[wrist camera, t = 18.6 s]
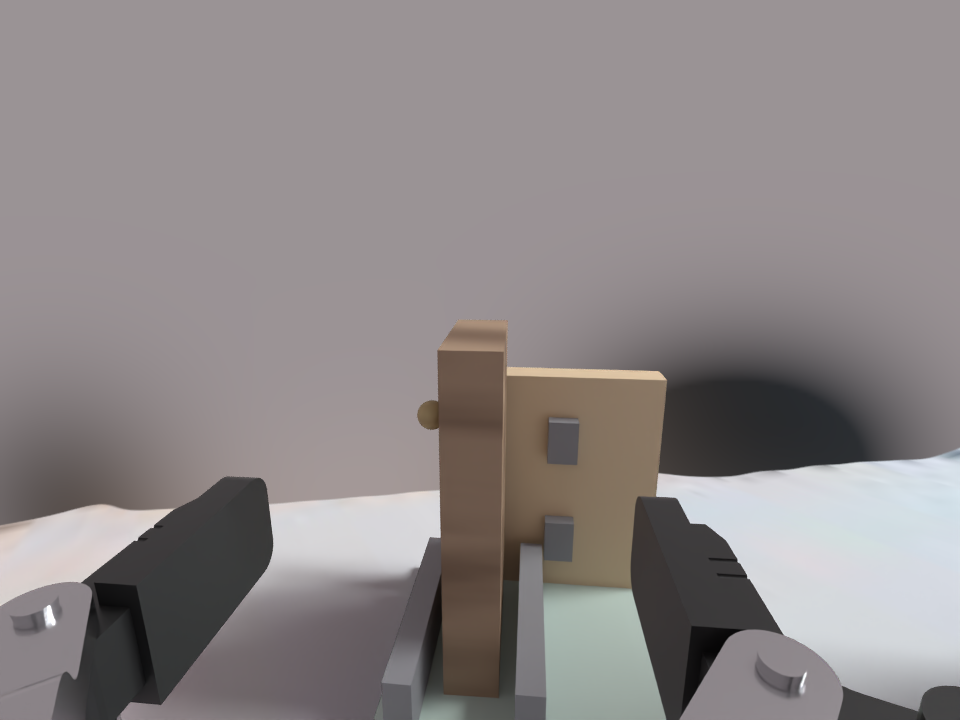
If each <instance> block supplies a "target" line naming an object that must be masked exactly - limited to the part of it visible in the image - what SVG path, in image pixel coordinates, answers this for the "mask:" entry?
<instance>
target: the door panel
mask: <svg viewBox="0 0 960 720" xmlns="http://www.w3.org/2000/svg"><path fill="white" fill-rule="evenodd" d="M507 325H508V321H507V320H458V321H457V323H456V324H455V326H454V327H453V329H452V330H451V331H450V333H449V334H448V336H447V337H446V339H445V340H444V342H443V343H442V345H441V346H440V347H439V349H438V402H437V401H427V402H425V403H423V404H422V405H421V406H420V408H419V410H418V414H417V417H418V421H419V423H420V424H421V425H422V426H423V427H424V428H426V429H430V430H434V429H437V428H439V460H440V461H439V462H440V463H439V464H440V521H441V578H442V636H443V693H444V695H459V696H474V697H489V698H499V679H500V655H501V631H502V608H503V571H504V510H505V449H506V388H507Z"/></svg>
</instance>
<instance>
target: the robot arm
mask: <svg viewBox="0 0 960 720" xmlns="http://www.w3.org/2000/svg"><path fill="white" fill-rule="evenodd" d="M272 551H273V535H272V527H271V519H270V511H269V503H268V495H267V488H266V484H265V482H264V481H263V480H262V479H261V478H249V477H224V478H222V479H221V480H220V481H219V482H217V483H216V484H215V485H213V486H212V487H211V488H210V489H209V490H207V491H206V492H205V493H204V494H203V495H201V496H200V497H199V498H197V499H195V500H193V501H191V502H189V503H187V504H185V505H183V506H181V507H179V508H177V509H175V510H173V511H172V512H170V513H169V514H168V515H166V516H165V517H164V518H163V519H161V520H160V521H159V522H158V523H156V524H155V525H154V528H150V529H149V530H147V531H146V532H145V533H144V534H142V535H141V536H140V537H139V538H138V541H133V542H132V543H131V544H130V545H128V546H127V547H126V548H125V549H123V550H122V551H121V552H120V553H118V554H117V555H116V556H114V557H113V558H112V559H111V560H109V561H108V562H107V563H106V564H104V565H103V566H102V567H100V568H99V569H98V570H97V571H95V572H94V573H93V574H92V575H90V576H89V577H88V578H87V579H85V580H84V581H83V582H81V583H78V582H65V583H57V584H52V585H48V586H44V587H41V588H38V589H35V590H32V591H30V592H27V593H25V594H22V595H20V596H18V597H16V598H14V599H12V600H10V601H9V602H7V603H5V604H4V605H2V606H0V720H122V719H121V712H122V711H123V710H124V709H125V708H126V706H127V705H128V704H129V703H130V702H136V703H147V704H157V705H161V704H162V703H163V702H164V700H165V699H166V698H167V696H168V695H169V694H170V693H171V691H172V690H173V689H174V687H175V686H176V685H177V684H178V682H179V681H180V680H181V679H182V677H183V676H184V675H185V673H186V672H187V671H188V670H189V668H190V667H191V666H192V664H193V663H194V662H195V661H196V659H197V658H198V657H199V655H200V654H201V653H202V652H203V650H204V649H205V648H206V646H207V645H208V644H209V643H210V641H211V640H212V639H213V637H214V636H215V635H216V634H217V632H218V631H219V630H220V628H221V627H222V626H223V625H224V623H225V622H226V621H227V619H228V618H229V617H230V616H231V614H232V613H233V612H234V610H235V609H236V608H237V607H238V605H239V604H240V603H241V601H242V600H243V599H244V598H245V596H246V595H247V594H248V592H249V591H250V590H251V589H252V587H253V586H254V585H255V583H256V582H257V581H258V580H259V578H260V577H261V576H262V574H263V573H264V572H265V570H266V569H267V567H268V565H269V562H270V559H271V556H272ZM630 572H631V586H632V593H633V597H634V601H635V605H636V608H637V612H638V616H639V620H640V623H641V627H642V631H643V635H644V638H645V642H646V646H647V649H648V653H649V657H650V661H651V664H652V668H653V672H654V675H655V679H656V683H657V687H658V690H659V694H660V698H661V702H662V705H663V709H664V713H665V716H666V720H960V687H957V686H938V687H934V688H931V689H929V690H928V691H927V692H925V694H924V695H923V697H922V700H921V703H920V707H919V711H915V710H911V709H908V708H905V707H902V706H899V705H895V704H892V703H889V702H886V701H883V700H880V699H876V698H873V697H870V696H867V695H864V694H861V693H858V692H855V691H853V690H850V689H848V688H846V687H844V686H842V685H841V683H840V681H839V678H838V677H837V675H836V674H835V672H834V671H833V669H832V668H831V667H830V666H829V665H828V664H827V663H826V662H825V661H824V660H823V659H822V658H821V657H820V656H819V655H818V654H816V653H815V652H814V651H812V650H811V649H809V648H808V647H806V646H805V645H803V644H801V643H799V642H797V641H796V640H794V639H791V638H789V637H786V636H784V635H783V633H782V632H781V630H780V628H779V627H778V625H777V623H776V622H775V620H774V619H773V617H772V615H771V614H770V612H769V610H768V609H767V607H766V605H765V604H764V602H763V601H762V599H761V597H760V596H759V594H758V592H757V591H756V589H755V587H754V586H753V584H752V583H751V581H750V579H747V574H746V573H745V571H744V569H743V568H742V566H741V564H740V563H738V562H737V558H736V556H735V555H734V553H733V551H732V550H731V548H730V546H729V545H728V543H727V542H726V540H724V539H723V538H722V537H721V536H719V535H718V534H717V533H716V532H714V531H713V530H712V529H711V528H709V527H708V526H707V525H705V524H690V522H689V520H688V519H687V517H686V515H685V513H684V511H683V509H682V507H681V505H680V503H679V501H678V500H677V499H676V498H668V497H646V496H638V497H637V499H636V504H635V514H634V526H633V539H632V551H631V566H630Z"/></svg>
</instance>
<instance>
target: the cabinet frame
mask: <svg viewBox="0 0 960 720" xmlns="http://www.w3.org/2000/svg"><path fill="white" fill-rule="evenodd" d="M666 385H667V380H666V379H665V378H664V377H663V375H662V374H661V373H660V372H659V371H630V370H593V369H592V370H591V369H558V368H523V367H507V388H506V449H505V510H504V571H503V608H502V631H501V655H500V679H499V698H489V697H474V696H459V695H444V693H443V636H442V578H441V538H432V537H430V538H429V541H428V544H427V547H426V550H425V553H424V556H423V559H422V562H421V565H420V568H419V571H418V574H417V577H416V580H415V583H414V586H413V589H412V592H411V595H410V598H409V601H408V604H407V607H406V610H405V613H404V616H403V619H402V622H401V625H400V628H399V631H398V634H397V637H396V640H395V643H394V646H393V649H392V652H391V655H390V658H389V661H388V664H387V667H386V670H385V673H384V676H383V679H382V682H381V689H382V695H381V698H380V701H379V704H378V707H377V710H376V713H375V716H374V719H373V720H666V716H665V713H664V709H663V705H662V702H661V698H660V694H659V690H658V687H657V683H656V679H655V675H654V672H653V668H652V664H651V661H650V657H649V653H648V649H647V646H646V642H645V638H644V635H643V631H642V627H641V623H640V620H639V616H638V612H637V608H636V605H635V601H634V597H633V593H632V586H631V572H630V566H631V551H632V539H633V526H634V514H635V504H636V499H637V497H638V496H646V497H656V490H657V479H658V469H659V458H660V448H661V436H662V427H663V416H664V406H665V396H666V395H665V394H666Z"/></svg>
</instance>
